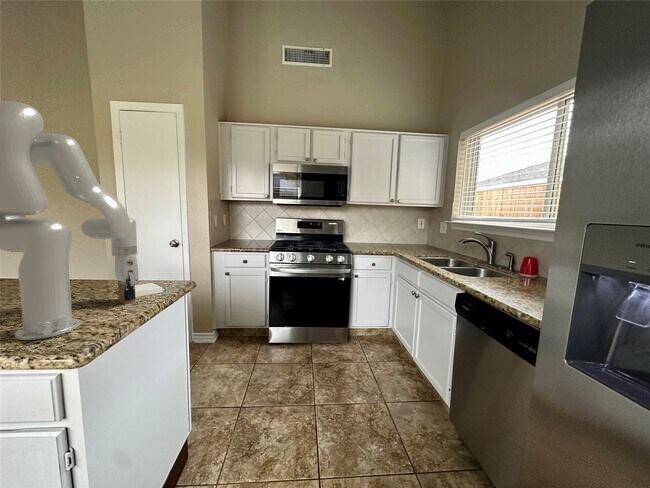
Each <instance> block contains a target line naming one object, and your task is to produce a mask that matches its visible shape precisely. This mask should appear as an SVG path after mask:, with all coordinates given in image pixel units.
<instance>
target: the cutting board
mask: <svg viewBox="0 0 650 488" xmlns="http://www.w3.org/2000/svg"><path fill="white" fill-rule="evenodd" d="M163 291H164V289H163V286H160V285H157V284H155V283H152V282H147V283H142V284H135V298H138V297H144V296H148V295H153V294H161V293H163Z"/></svg>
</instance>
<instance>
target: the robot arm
mask: <svg viewBox="0 0 650 488" xmlns="http://www.w3.org/2000/svg"><path fill="white" fill-rule="evenodd" d="M43 119H44V118H43V117H42V115H41V113H40V112H39V111H38V110H37V109H36V108H35V107H33V106H31V105H29V104H27V103H23V102H19V101H11V100H10V101H9V100H3V101H2V100H0V250H2V251H5V252H11V253H23V255H22V258H21V259H20V262H19V265H18V269H17V271H18V273H17V275H18V282H19V295H20V296H19V297H20V304H21V305H20V306H21V317H22V318H21V319H22V327H21V328H19V329H18V330H16V331H15V332H14V338H15V339H16V340H19V341H20V340H21V341H33V340H35V341H36V340H42V339H48V338H52V337H56V336H60V335H62V334H66V333H68V332H69V333H70V331H73V330H76V329H77V328H78V327H80V324H81V321H80V319H78V318H74V317H73V309H72V296H71V295H72V294H71V283H70V282H71V281H70V267H69V266H70V265H69V261H70V260H69V259H70V258H69V256H70V250H71V245H72V237H73V236H72V233H71V230H70V228H69V227H68V226H67V225H66V224H64V223H63V222H61V221H58V220H56V219H52V218H51V219H50V218H43V217H38V218H37V217H36V218H35V217H26V216H35V215H38V214H41V213H43V212H44V211H46V210H47V208H48V206H49V199H48V197H47V194H46V191H45V190H44V187H43V186H42V183H41V181H40V179H39V177H38V175H37V173H36V171H35V168H34V167H33V164H38V165H49V168H50V169H51V170H52V172H53V174H54V175H55V177H56V179H57V180H58V182H59V184H60V186H61V187H62V190H63V191H64V192H65V193H66V194H67V195H69V196H71V197H73V198H75V199H78V200H80V201H82V202H84V203H86V204H88V205H90V206H92V207H94V208H95V209H97V210H98V211H99V212H100V213H101V215H103V216H93V217H89V218H87V219H85V220H84V221H83V222H82V223H81V229H80V230H81V232H82V233H83V234H84V236H85V237H88V238H90V239H95V240H110V241H111V256H113V257H114V274H115V275H114V276H115V278H116V280H117V282H118V281H122V282H124V283H125V290H124V297H125V301H128V300H133V299H135V300H136V297H135V285H136V282H137V281H139V278H140V276H139V265H138V260H137V255H138V238H137V221H136V219H134V218H131V217H129V214H128V212H127V210H126V209H125V207H124V206H123V204H122V203H121V202H120V201H119V200H118V199H117V198H116V197H115V196H114V195H113V194H111V193H110V192H109V191H108V190H106V189H105V188H104V187H102V185H100V184H99V182H98V180H97V177H96V175H95V174H94V172H93V170H92V168H91V166H90V164H89V162H88V160H87V158H86V156H85V153H84V151H83V150H82V148H81V146H80V144H79V143H78V141H77V140H75V139H74V138H73V137H71V136H69V135H67V134H63V133H62V134H61V133H45V132H44V133H43V130H44V126H45V124H44V120H43ZM126 280H130V281H126ZM127 283H130V284H128V286H127Z"/></svg>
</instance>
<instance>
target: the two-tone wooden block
mask: <svg viewBox="0 0 650 488" xmlns="http://www.w3.org/2000/svg"><path fill="white" fill-rule="evenodd" d="M126 281H130V280H126ZM128 284H130V283H127V286H128ZM124 290H125V283H124V282H122V281H118V280H117V291H118V302H119V303H121V304H122V305H128V304H135V303H136V298H135V299H133V300H128V301H125V297H124Z"/></svg>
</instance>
